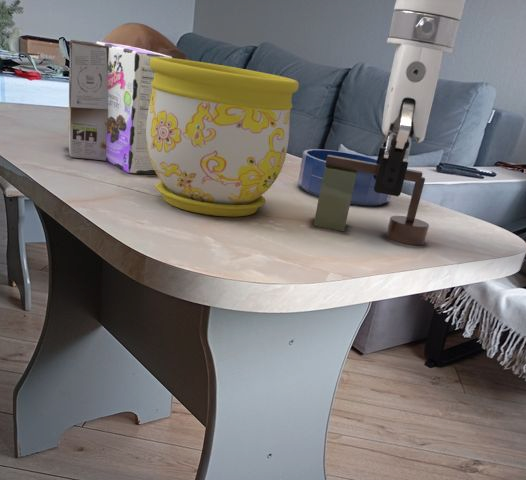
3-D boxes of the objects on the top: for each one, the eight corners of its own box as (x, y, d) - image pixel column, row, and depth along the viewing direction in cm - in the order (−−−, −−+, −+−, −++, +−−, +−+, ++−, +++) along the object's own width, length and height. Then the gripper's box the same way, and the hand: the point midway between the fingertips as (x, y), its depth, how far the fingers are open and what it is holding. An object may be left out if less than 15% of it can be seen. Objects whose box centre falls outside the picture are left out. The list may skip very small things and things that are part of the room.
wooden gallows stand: (422, 237, 82) (440, 172, 79) (425, 247, 78) (444, 179, 74) (316, 217, 84) (328, 152, 80) (313, 226, 79) (326, 158, 75)
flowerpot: (282, 201, 89) (302, 79, 82) (270, 233, 73) (294, 84, 66) (160, 179, 90) (170, 56, 82) (122, 206, 74) (130, 56, 66)
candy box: (91, 153, 99) (94, 39, 92) (125, 154, 102) (131, 45, 95) (128, 174, 89) (135, 49, 82) (164, 174, 93) (174, 55, 86)
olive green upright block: (345, 223, 83) (357, 168, 80) (344, 231, 79) (356, 173, 76) (316, 218, 83) (326, 162, 80) (313, 225, 79) (324, 167, 76)
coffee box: (112, 162, 95) (117, 48, 88) (69, 157, 93) (70, 40, 86) (107, 150, 103) (111, 44, 96) (67, 146, 101) (68, 38, 94)
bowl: (388, 193, 107) (395, 161, 105) (390, 212, 93) (399, 176, 91) (302, 177, 108) (308, 145, 106) (292, 194, 94) (299, 157, 92)
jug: (90, 151, 100) (232, 182, 121) (126, 26, 91) (273, 82, 112) (47, 103, 112) (183, 139, 132) (76, -11, 103) (217, 46, 123)
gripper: (465, 37, 62) (420, 207, 70) (446, 42, 78) (410, 180, 86) (392, 25, 63) (355, 194, 71) (387, 32, 78) (357, 170, 86)
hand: (385, 186), depth 78 cm, fingers open, 8 cm apart
